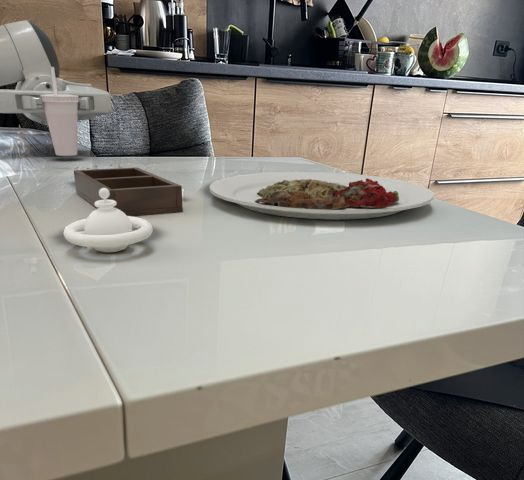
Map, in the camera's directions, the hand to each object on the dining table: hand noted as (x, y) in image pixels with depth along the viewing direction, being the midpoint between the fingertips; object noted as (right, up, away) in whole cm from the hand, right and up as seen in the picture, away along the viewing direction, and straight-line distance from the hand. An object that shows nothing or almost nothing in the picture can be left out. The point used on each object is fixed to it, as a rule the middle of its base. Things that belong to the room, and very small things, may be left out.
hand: (61, 103), depth 94 cm
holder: (+17, -23, -22) cm, 36 cm away
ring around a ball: (+20, -33, -43) cm, 58 cm away
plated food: (+42, -22, -19) cm, 51 cm away
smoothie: (-1, -7, +4) cm, 9 cm away
